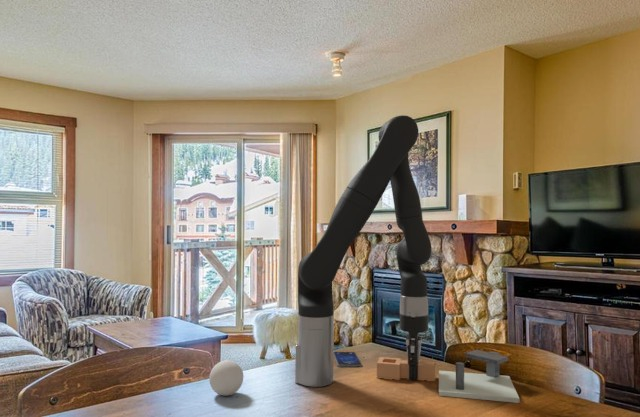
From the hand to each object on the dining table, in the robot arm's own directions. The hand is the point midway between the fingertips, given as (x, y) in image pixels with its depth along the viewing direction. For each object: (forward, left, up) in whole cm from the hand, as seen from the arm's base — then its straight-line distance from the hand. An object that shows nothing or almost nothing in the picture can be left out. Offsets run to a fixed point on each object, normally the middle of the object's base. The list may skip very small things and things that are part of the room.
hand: (413, 377), depth 127 cm
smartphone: (-21, +12, -1) cm, 24 cm away
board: (+15, -3, 0) cm, 16 cm away
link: (-2, 0, 0) cm, 2 cm away
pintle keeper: (+17, -2, 0) cm, 17 cm away
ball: (-43, -25, 0) cm, 49 cm away
